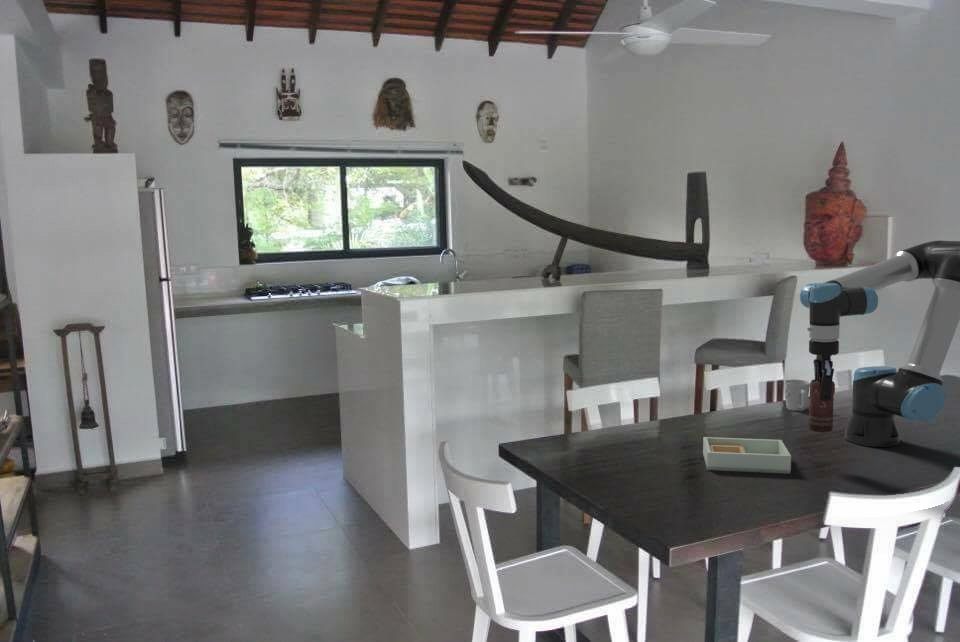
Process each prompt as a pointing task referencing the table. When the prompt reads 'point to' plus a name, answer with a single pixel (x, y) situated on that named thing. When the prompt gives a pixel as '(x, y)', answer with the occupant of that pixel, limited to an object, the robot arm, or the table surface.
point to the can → (820, 409)
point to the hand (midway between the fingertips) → (822, 422)
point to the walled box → (746, 455)
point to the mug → (796, 394)
